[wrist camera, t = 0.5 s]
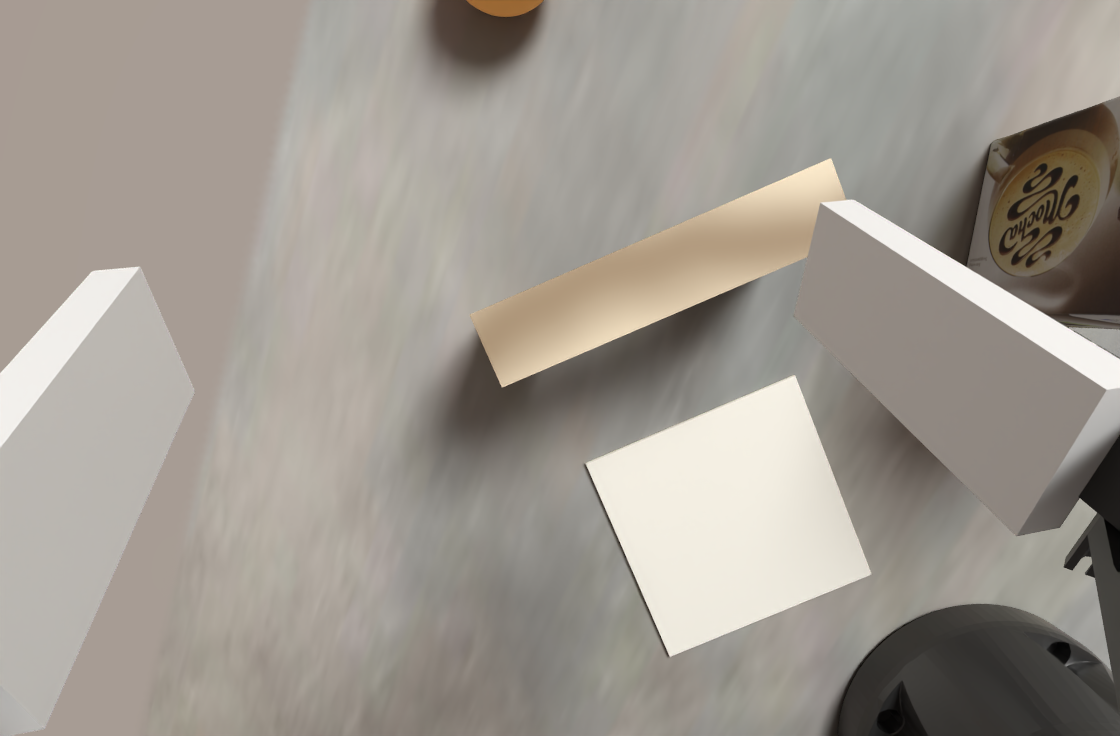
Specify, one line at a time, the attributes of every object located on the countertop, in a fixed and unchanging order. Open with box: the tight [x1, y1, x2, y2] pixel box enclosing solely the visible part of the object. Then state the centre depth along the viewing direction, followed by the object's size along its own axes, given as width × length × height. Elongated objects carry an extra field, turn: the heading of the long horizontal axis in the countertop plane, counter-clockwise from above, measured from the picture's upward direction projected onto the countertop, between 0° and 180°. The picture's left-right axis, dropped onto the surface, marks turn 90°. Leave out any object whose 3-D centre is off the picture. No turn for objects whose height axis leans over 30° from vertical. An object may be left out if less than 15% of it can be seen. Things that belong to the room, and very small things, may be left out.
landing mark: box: [586, 375, 871, 657], centre depth 34 cm, size 12×12×1 cm
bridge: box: [470, 158, 846, 387], centre depth 28 cm, size 3×14×9 cm, turn 113°
